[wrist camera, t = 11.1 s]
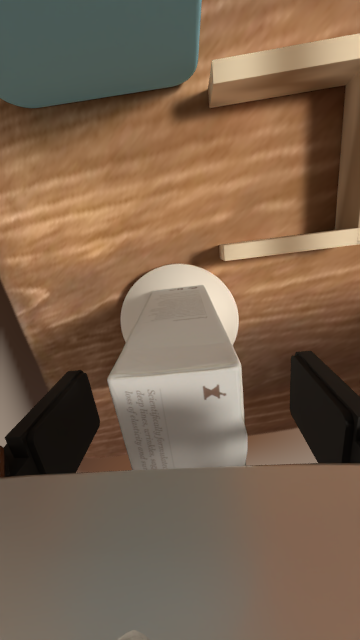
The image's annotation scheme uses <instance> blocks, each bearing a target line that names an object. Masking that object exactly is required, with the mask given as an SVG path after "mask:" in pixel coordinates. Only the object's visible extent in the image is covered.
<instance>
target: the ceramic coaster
mask: <svg viewBox="0 0 360 640" xmlns="http://www.w3.org/2000/svg"><path fill="white" fill-rule="evenodd" d="M197 285H204V286H205V288H206V290H207V293H208V295H209V297H210V299H211V301H212V303H213V305H214V308H215V310H216V312H217V314H218V316H219V319H220V321H221V323H222V325H223V327H224V329H225V331H226V333H227V335H228V337H229V339H230V341H231V343H232V345H233V343H234V341H235V339H236V336H237V332H238V326H239V317H238V310H237V306H236V303H235V300H234V298H233V296H232V294H231V293H230V291H229V289H228V288H227V287H226V286H225V284H224V283H223V282H222V281H221V280H220V279H219V278H218V277H217V276H215V275H214V274H212V273H211V272H209V271H207V270H205V269H204V268H201V267H198V266H195V265H190V264H181V263H178V264H168V265H164V266H161V267H158V268H155V269H153V270H151V271H149V272H148V273H146V274H145V275H144V276H142V277H141V278H140V279H139V280H138V281H137V282H136V283H135V284H134V285H133V286H132V287H131V289H130V290H129V292H128V294H127V295H126V297H125V300H124V302H123V306H122V309H121V330H122V334H123V337H124V340H125V342H127V339H128V338H129V336H130V334H131V332H132V330H133V328H134V326H135V324H136V322H137V320H138V318H139V316H140V314H141V312H142V310H143V309H144V307H145V305H146V303H147V301H148V299H149V297H150V295H151V293H152V292H153V291H156V290H163V289H171V288H179V287H188V286H197Z"/></svg>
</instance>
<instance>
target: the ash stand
mask: <svg viewBox="0 0 360 640" xmlns="http://www.w3.org/2000/svg"><path fill="white" fill-rule="evenodd" d="M344 85H346V88H345V101H344V114H343V128H342V141H341V154H340V167H339V180H338V194H337V207H336V220H335V230H330V231H322V232H315V233H307V234H299V235H292V236H284V237H276V238H269V239H261V240H253V241H246V242H238V243H230V244H222V245H219V253H220V259H222V260H224V261H229V260H237V259H245V258H253V257H261V256H269V255H277V254H285V253H293V252H301V251H309V250H317V249H325V248H333V247H341V246H349V245H357V244H360V34H354V35H349V36H343V37H338V38H332V39H327V40H321V41H316V42H310V43H305V44H299V45H294V46H288V47H283V48H277V49H272V50H266V51H261V52H255V53H250V54H244V55H239V56H233V57H228V58H222V59H217V60H212V64H211V71H210V78H209V85H208V96H209V108H213V107H219V106H225V105H231V104H237V103H243V102H249V101H255V100H261V99H267V98H273V97H279V96H285V95H291V94H297V93H303V92H308V91H314V90H320V89H326V88H332V87H338V86H344Z"/></svg>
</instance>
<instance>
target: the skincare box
mask: <svg viewBox="0 0 360 640" xmlns="http://www.w3.org/2000/svg"><path fill="white" fill-rule="evenodd" d="M107 382H108V386H109V390H110V393H111V396H112V400H113V403H114V407H115V410H116V414H117V417H118V421H119V424H120V428H121V431H122V435H123V439H124V442H125V446H126V449H127V453H128V456H129V460H130V463H131V466H132V470H152V469H175V468H200V467H227V466H246V456H247V451H248V442H247V441H248V437H247V431H246V427H245V424H244V405H243V386H242V369H241V363H240V361H239V359H238V356H237V354H236V352H235V350H234V348H233V345H232V343H231V341H230V339H229V337H228V335H227V333H226V331H225V329H224V327H223V325H222V323H221V321H220V319H219V316H218V314H217V312H216V310H215V308H214V305H213V303H212V301H211V299H210V297H209V295H208V293H207V290H206V288H205V286H204V285H197V286H188V287H179V288H171V289H163V290H156V291H153V292H152V293H151V295H150V297H149V299H148V301H147V303H146V305H145V307H144V309H143V310H142V312H141V314H140V316H139V318H138V320H137V322H136V324H135V326H134V328H133V330H132V332H131V334H130V336H129V338H128V339H127V342H126V344H125V345H124V348H123V350H122V352H121V354H120V356H119V358H118V359H117V361H116V363H115V365H114V367H113V369H112V370H111V372H110V374H109V376H108V378H107Z"/></svg>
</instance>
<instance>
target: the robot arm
mask: <svg viewBox="0 0 360 640" xmlns="http://www.w3.org/2000/svg"><path fill="white" fill-rule="evenodd" d="M290 411H291V415H292V417H293V419H294V420H295V422H296V424H297V426H298V428H299V429H300V431H301V433H302V434H303V437H304V438H305V440H306V442H307V444H308V445H309V447H310V449H311V451H312V453H313V454H314V456H315V458H316V460H317V462H318V463H313V464H286V465H285V464H284V465H256V466H227V467H200V468H175V469H152V470H130V471H129V470H128V471H109V472H108V471H107V472H86V473H76V471H77V469H78V467H79V465H80V463H81V461H82V459H83V457H84V456H85V454H86V452H87V450H88V448H89V446H90V444H91V442H92V440H93V438H94V436H95V434H96V432H97V430H98V428H99V425H100V419H99V415H98V412H97V408H96V405H95V401H94V398H93V394H92V391H91V387H90V384H89V380H88V377H87V374H86V373H83V371H81V370H78V371H68V372H67V373H66V374H65V375H64V376H63V377H62V378H61V379H60V380H59V381H58V382H57V383H56V384H55V386H54V387H53V388H52V389H51V390H50V391H49V392H48V393H47V394H46V395H45V396H44V397H43V398H42V399H41V400H40V401H39V402H38V403H37V404H36V405H35V406H34V408H32V409H31V411H30V412H29V413H28V414H27V415H26V416H25V417H24V418H23V419H22V420H21V421H20V422H19V423H18V424H17V425H16V426H15V427H14V428H13V429H12V430H11V431H10V432H9V433H8V435H7V436H6V437H5V439H6V442H7V444H6V446H5V447H4V448H3V447H2V446H0V640H360V397H359V396H358V395H357V394H356V393H355V392H354V391H353V390H352V389H351V388H350V387H349V386H348V385H347V384H346V383H344V382H343V381H342V380H341V379H340V378H339V377H338V376H337V375H336V374H335V373H334V372H333V371H332V370H331V369H330V368H329V367H328V366H327V365H325V364H324V363H323V362H322V361H321V360H320V359H319V358H318V357H317V356H316V355H315V354H314V353H313V352H312V351H303V352H296V354H295V356H292V357H291V380H290Z"/></svg>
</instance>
